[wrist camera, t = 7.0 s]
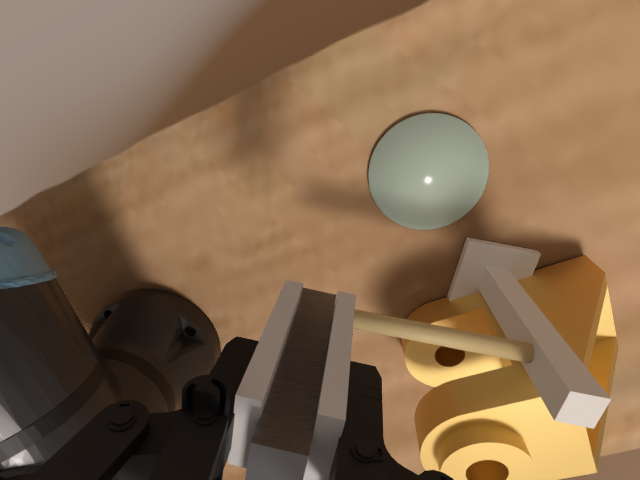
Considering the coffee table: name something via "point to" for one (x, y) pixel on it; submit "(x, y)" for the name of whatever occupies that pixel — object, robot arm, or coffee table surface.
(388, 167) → the coaster
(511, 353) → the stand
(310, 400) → the link
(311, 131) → the coffee table surface
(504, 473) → the clamp
